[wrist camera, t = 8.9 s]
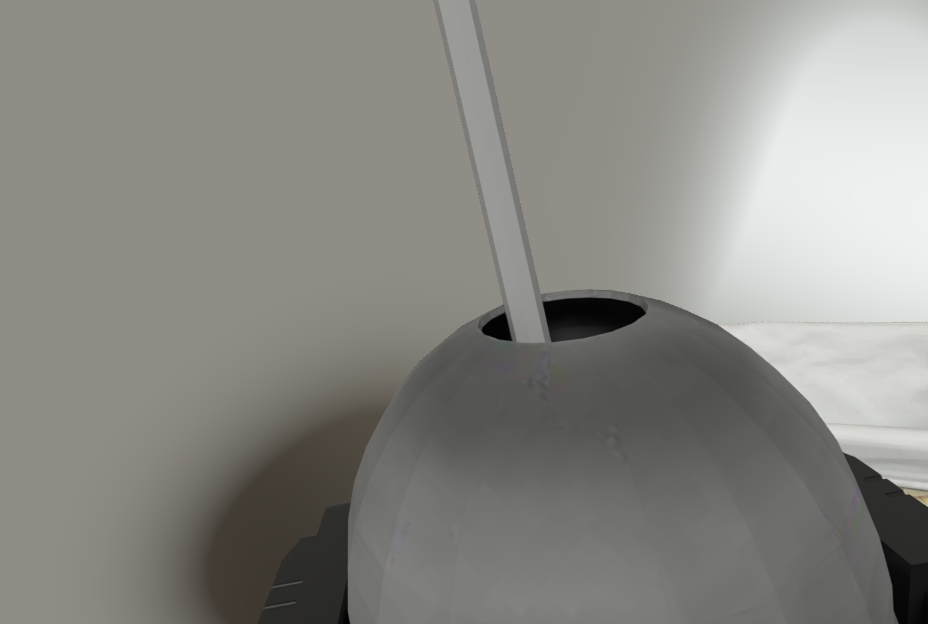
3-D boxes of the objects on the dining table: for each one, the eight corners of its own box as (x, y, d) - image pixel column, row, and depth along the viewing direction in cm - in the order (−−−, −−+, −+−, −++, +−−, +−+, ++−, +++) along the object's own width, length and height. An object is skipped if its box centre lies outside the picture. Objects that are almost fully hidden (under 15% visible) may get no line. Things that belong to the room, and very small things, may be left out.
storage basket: (1066, 514, 36) (1099, 313, 32) (1262, 755, 23) (1363, 460, 19) (691, 473, 48) (682, 320, 44) (673, 618, 34) (657, 415, 30)
